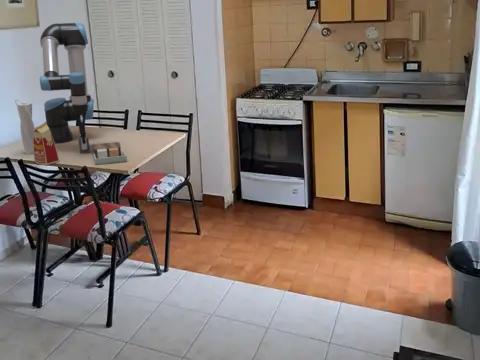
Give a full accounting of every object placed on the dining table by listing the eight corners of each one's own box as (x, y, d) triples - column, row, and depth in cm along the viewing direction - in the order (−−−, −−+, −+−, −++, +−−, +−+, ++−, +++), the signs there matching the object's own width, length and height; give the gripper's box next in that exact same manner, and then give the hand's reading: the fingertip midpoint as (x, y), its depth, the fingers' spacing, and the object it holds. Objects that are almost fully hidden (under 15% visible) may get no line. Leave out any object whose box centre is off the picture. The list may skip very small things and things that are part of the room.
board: (94, 159, 280) (93, 149, 279) (93, 153, 290) (92, 144, 289) (121, 156, 284) (120, 147, 283) (118, 151, 294) (117, 142, 293)
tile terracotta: (109, 157, 282) (109, 159, 278) (108, 148, 281) (109, 150, 277) (118, 156, 283) (119, 158, 280) (117, 147, 282) (118, 149, 278)
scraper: (79, 153, 291) (78, 140, 289) (79, 151, 295) (78, 138, 293) (120, 149, 297) (119, 136, 295) (120, 147, 301) (119, 134, 299)
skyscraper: (22, 155, 289) (15, 101, 280) (21, 151, 296) (14, 98, 287) (38, 153, 292) (31, 99, 283) (37, 149, 299) (30, 97, 290)
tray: (95, 164, 271) (94, 158, 270) (93, 159, 280) (93, 153, 279) (126, 161, 276) (126, 155, 275) (124, 156, 285) (123, 150, 284)
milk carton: (48, 158, 282) (43, 119, 276) (60, 161, 278) (55, 121, 271) (32, 163, 275) (27, 123, 269) (44, 166, 270) (39, 125, 264)
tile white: (97, 158, 280) (98, 160, 277) (96, 149, 279) (97, 151, 275) (107, 157, 282) (107, 159, 278) (106, 148, 280) (106, 150, 277)
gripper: (71, 101, 292) (75, 144, 300) (72, 107, 277) (77, 153, 284) (86, 100, 295) (90, 143, 302) (88, 106, 279) (92, 151, 286)
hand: (84, 147), depth 293 cm, fingers open, 4 cm apart
